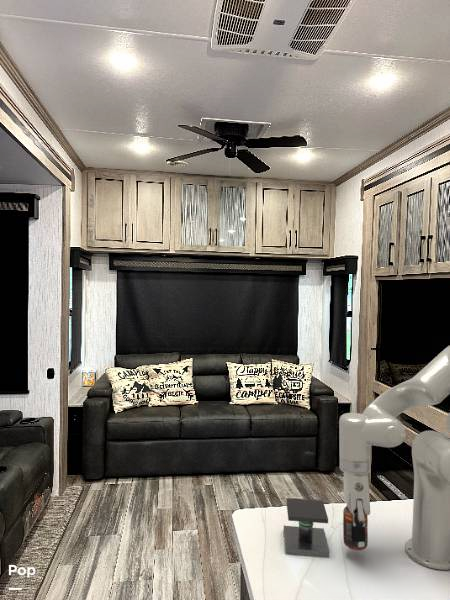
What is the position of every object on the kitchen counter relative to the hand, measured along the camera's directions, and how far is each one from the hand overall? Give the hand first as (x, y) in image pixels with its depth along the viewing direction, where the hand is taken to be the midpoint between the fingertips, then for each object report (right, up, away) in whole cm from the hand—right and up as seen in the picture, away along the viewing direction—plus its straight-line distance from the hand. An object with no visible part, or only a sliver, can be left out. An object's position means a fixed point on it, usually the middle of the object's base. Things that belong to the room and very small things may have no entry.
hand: (355, 532), depth 112 cm
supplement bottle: (0, -3, 0) cm, 3 cm away
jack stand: (-12, -6, +5) cm, 14 cm away
